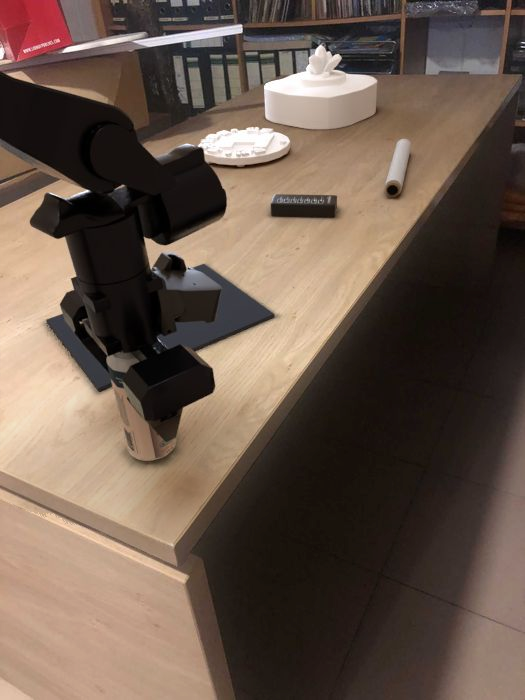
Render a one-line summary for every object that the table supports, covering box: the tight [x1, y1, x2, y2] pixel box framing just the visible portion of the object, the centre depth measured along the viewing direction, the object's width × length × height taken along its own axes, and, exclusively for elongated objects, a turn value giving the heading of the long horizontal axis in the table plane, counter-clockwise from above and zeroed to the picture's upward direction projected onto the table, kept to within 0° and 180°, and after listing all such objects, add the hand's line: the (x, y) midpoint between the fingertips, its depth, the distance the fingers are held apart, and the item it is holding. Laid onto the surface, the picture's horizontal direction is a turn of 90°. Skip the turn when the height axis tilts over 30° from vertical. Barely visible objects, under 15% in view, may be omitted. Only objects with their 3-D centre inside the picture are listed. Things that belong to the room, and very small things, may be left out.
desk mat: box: [45, 263, 275, 392], centre depth 77 cm, size 24×18×1 cm
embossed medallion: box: [197, 126, 291, 168], centre depth 130 cm, size 20×20×3 cm
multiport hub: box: [270, 193, 338, 219], centre depth 102 cm, size 4×11×2 cm, turn 79°
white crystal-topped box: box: [263, 44, 378, 131], centre depth 149 cm, size 25×25×16 cm
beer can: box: [107, 352, 178, 462], centre depth 55 cm, size 5×5×12 cm
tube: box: [384, 138, 412, 198], centre depth 114 cm, size 3×3×25 cm
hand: (148, 412), depth 56 cm, fingers open, 8 cm apart
